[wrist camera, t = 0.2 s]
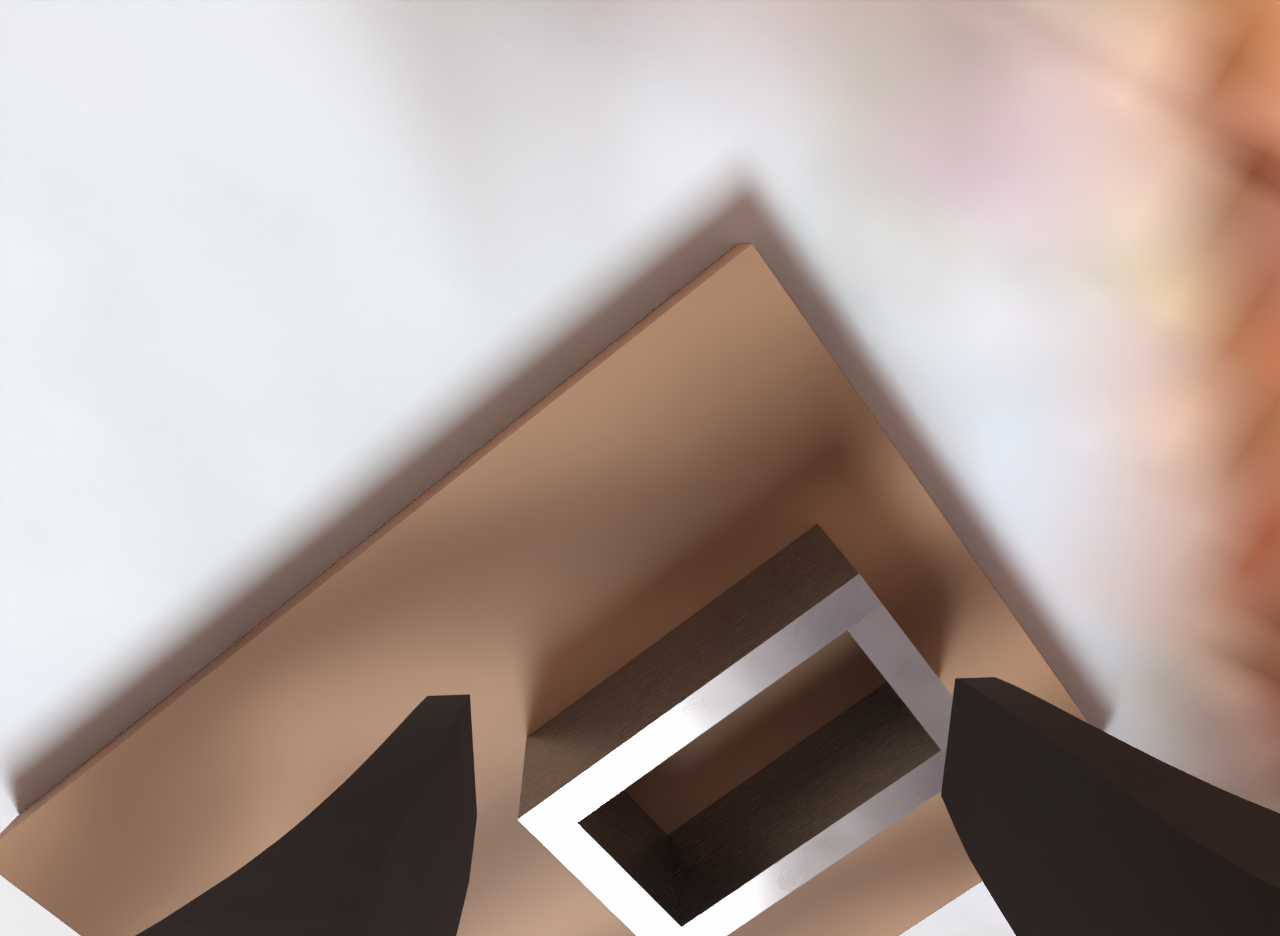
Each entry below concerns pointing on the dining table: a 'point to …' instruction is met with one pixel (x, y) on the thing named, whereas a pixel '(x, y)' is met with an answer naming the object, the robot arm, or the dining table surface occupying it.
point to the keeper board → (560, 636)
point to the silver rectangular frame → (771, 798)
